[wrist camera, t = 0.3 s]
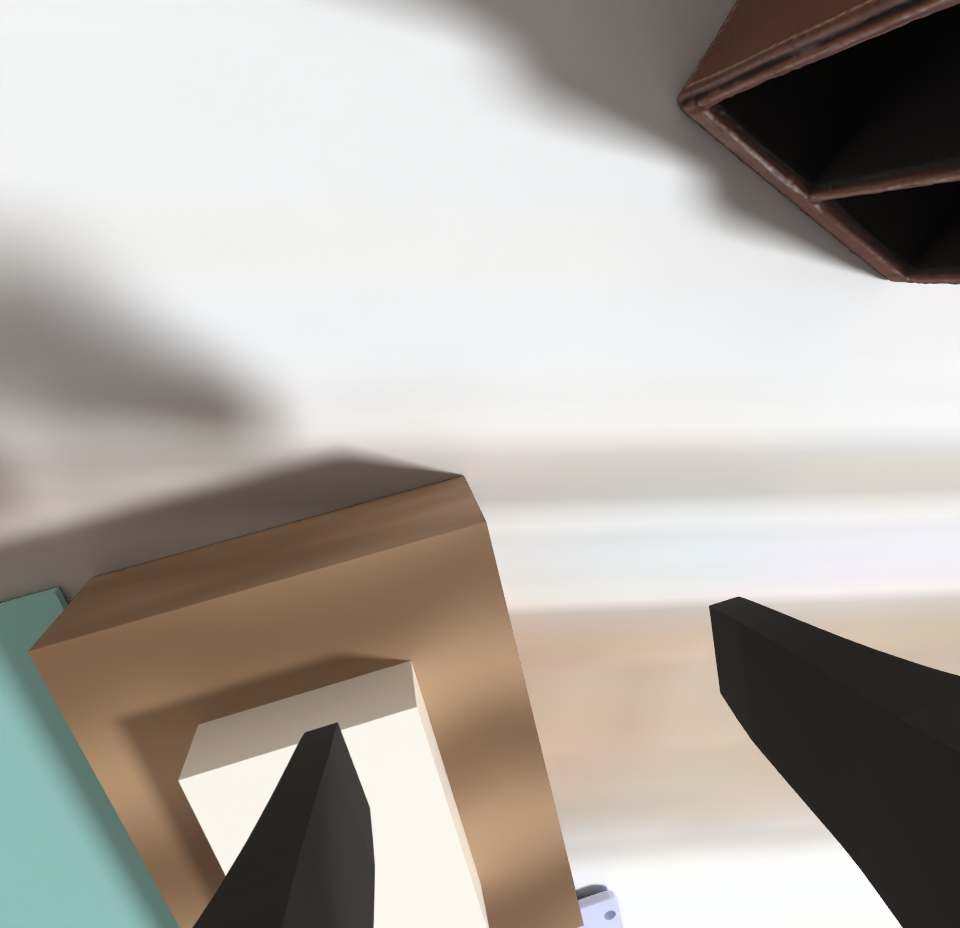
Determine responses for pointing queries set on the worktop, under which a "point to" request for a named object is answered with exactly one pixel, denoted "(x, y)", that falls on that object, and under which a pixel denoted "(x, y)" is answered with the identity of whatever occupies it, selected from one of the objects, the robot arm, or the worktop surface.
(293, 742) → the cream white block
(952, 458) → the worktop surface
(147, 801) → the board
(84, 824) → the mat
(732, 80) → the letter holder
